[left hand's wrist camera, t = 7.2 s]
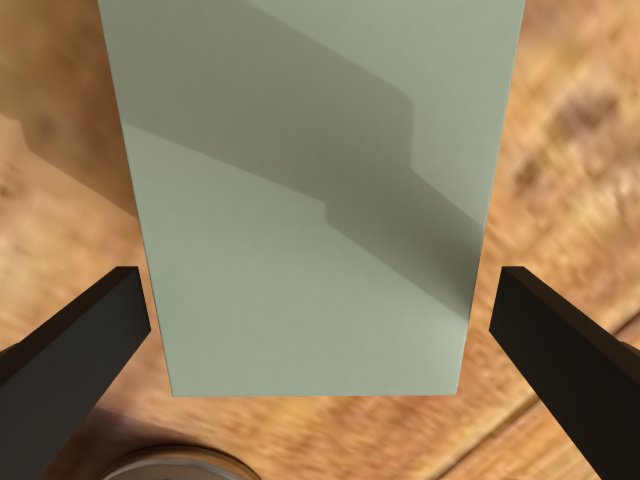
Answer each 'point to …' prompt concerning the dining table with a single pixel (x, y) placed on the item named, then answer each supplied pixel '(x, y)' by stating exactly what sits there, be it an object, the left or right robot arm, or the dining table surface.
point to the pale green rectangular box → (312, 184)
